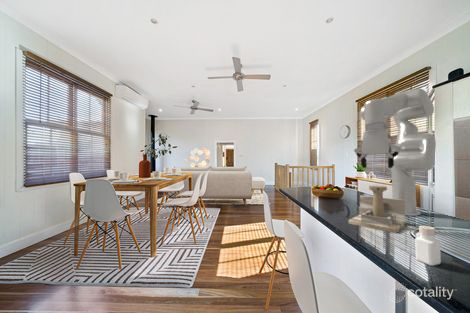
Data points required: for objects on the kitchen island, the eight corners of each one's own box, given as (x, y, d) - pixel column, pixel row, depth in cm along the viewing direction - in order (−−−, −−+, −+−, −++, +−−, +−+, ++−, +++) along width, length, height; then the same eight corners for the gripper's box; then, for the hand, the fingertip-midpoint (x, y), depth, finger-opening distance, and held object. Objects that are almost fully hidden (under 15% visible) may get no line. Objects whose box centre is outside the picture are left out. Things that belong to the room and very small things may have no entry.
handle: (388, 223, 86) (387, 187, 86) (370, 221, 89) (369, 186, 89) (387, 220, 90) (386, 186, 90) (369, 218, 93) (368, 185, 94)
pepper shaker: (431, 266, 54) (430, 230, 55) (414, 260, 58) (413, 225, 59) (442, 264, 56) (440, 228, 56) (425, 257, 59) (423, 224, 60)
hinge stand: (361, 216, 103) (360, 195, 103) (405, 224, 90) (404, 199, 90) (348, 223, 92) (347, 199, 92) (395, 233, 79) (394, 205, 80)
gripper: (402, 126, 86) (404, 167, 86) (356, 131, 100) (358, 167, 99) (397, 124, 81) (399, 168, 81) (350, 130, 95) (352, 167, 94)
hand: (376, 167), depth 90 cm, fingers open, 9 cm apart
